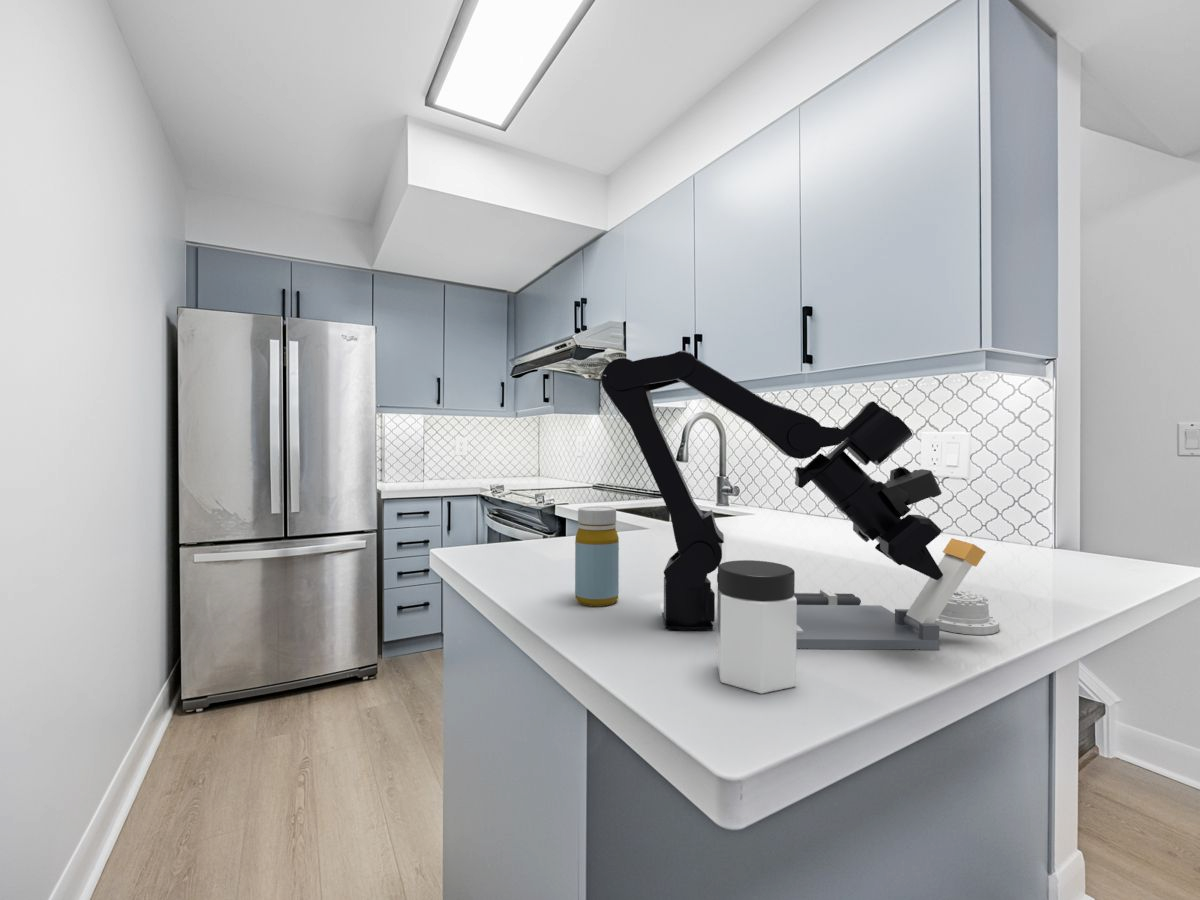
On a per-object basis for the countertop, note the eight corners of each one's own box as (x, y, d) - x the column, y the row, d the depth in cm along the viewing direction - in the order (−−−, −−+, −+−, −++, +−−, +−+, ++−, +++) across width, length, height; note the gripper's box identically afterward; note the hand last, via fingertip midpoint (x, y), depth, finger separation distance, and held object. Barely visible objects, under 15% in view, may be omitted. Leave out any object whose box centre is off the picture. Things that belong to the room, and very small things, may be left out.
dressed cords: (738, 606, 88) (738, 595, 88) (733, 599, 92) (733, 588, 92) (863, 607, 88) (863, 596, 88) (852, 600, 92) (852, 589, 92)
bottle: (592, 593, 96) (592, 505, 96) (626, 599, 92) (627, 508, 92) (566, 602, 90) (566, 509, 90) (601, 610, 86) (602, 512, 86)
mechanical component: (930, 634, 76) (1013, 639, 74) (930, 601, 76) (1013, 606, 74) (906, 612, 86) (979, 617, 84) (907, 583, 86) (980, 587, 84)
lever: (917, 629, 71) (973, 544, 71) (898, 618, 76) (951, 538, 75) (929, 637, 71) (985, 552, 71) (909, 625, 76) (962, 545, 75)
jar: (763, 657, 67) (764, 557, 67) (813, 684, 60) (814, 571, 59) (699, 668, 64) (700, 563, 64) (743, 699, 56) (744, 579, 56)
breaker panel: (769, 648, 70) (769, 624, 70) (741, 612, 85) (741, 592, 85) (939, 650, 70) (939, 625, 70) (881, 613, 85) (881, 593, 85)
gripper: (924, 449, 65) (1029, 550, 63) (878, 446, 83) (959, 524, 81) (848, 514, 66) (949, 614, 64) (820, 497, 85) (898, 575, 83)
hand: (939, 577), depth 73 cm, fingers closed
